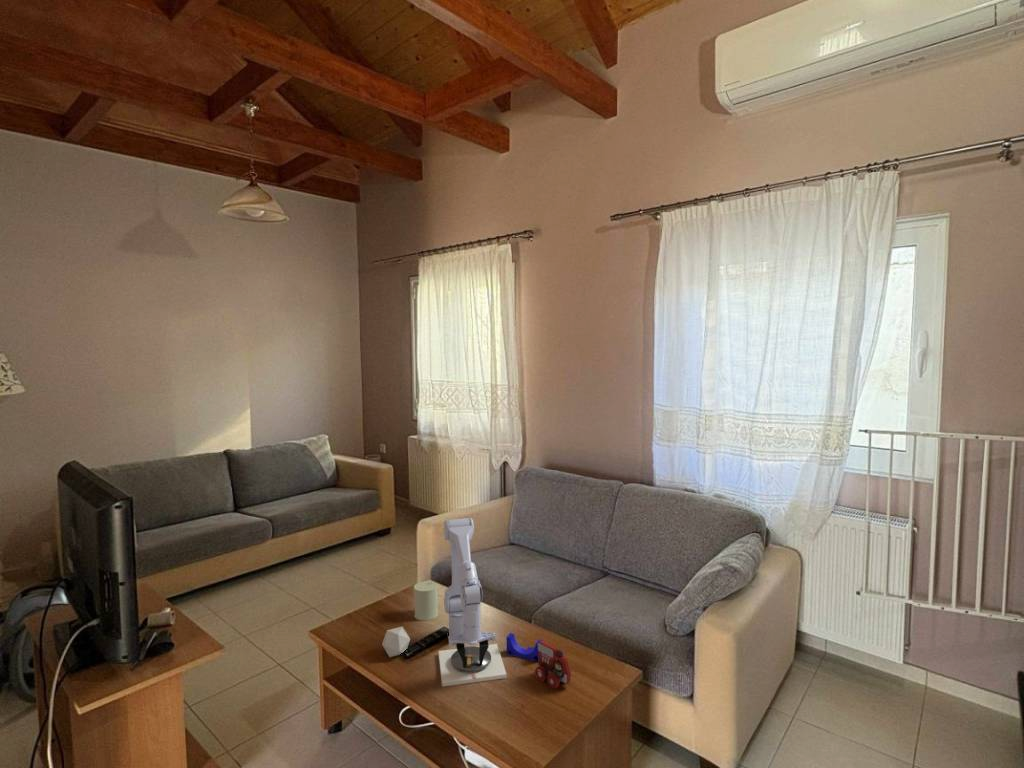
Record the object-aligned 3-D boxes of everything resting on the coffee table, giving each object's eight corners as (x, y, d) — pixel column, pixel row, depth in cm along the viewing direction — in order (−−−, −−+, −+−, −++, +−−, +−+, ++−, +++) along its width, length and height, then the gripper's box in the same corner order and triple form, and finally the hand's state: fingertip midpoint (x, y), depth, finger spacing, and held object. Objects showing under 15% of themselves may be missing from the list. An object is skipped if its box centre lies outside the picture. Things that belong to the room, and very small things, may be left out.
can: (443, 612, 208) (442, 582, 208) (427, 622, 201) (426, 591, 200) (425, 607, 213) (424, 578, 213) (409, 616, 206) (408, 586, 205)
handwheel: (455, 648, 179) (455, 636, 179) (493, 649, 178) (493, 637, 178) (447, 670, 166) (446, 658, 166) (488, 672, 165) (488, 659, 165)
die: (407, 645, 186) (389, 623, 186) (419, 641, 181) (401, 618, 180) (390, 665, 180) (372, 641, 180) (403, 661, 174) (384, 637, 174)
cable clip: (544, 655, 178) (544, 637, 178) (540, 662, 174) (539, 644, 174) (512, 647, 183) (511, 630, 183) (506, 654, 179) (506, 637, 179)
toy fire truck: (561, 693, 157) (560, 659, 157) (531, 676, 166) (530, 643, 166) (576, 683, 162) (575, 650, 162) (546, 667, 171) (545, 635, 171)
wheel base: (438, 654, 179) (438, 649, 179) (496, 647, 183) (496, 642, 183) (442, 687, 161) (442, 681, 161) (506, 678, 165) (506, 673, 165)
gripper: (449, 631, 161) (450, 675, 162) (496, 626, 164) (497, 669, 165) (447, 620, 168) (448, 662, 169) (493, 615, 171) (493, 656, 172)
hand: (472, 664), depth 167 cm, fingers open, 5 cm apart
